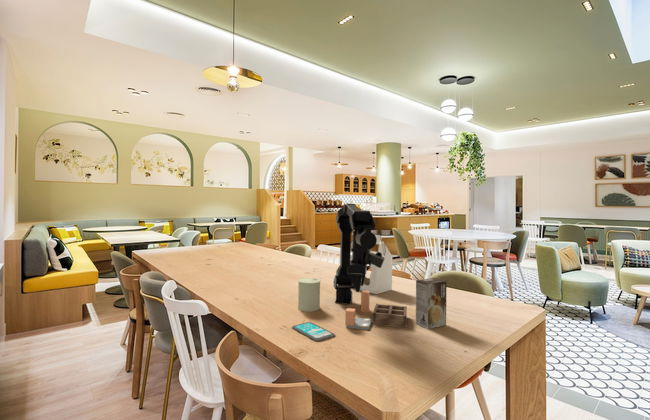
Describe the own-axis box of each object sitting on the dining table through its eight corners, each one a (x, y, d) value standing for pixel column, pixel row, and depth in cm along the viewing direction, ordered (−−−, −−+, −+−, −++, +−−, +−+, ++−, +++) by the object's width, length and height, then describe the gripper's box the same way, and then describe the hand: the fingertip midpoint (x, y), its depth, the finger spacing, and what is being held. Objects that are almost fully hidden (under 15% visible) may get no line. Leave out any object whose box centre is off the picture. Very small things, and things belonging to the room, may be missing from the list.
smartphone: (316, 340, 102) (290, 326, 114) (316, 343, 102) (290, 328, 114) (337, 334, 108) (310, 321, 119) (337, 337, 108) (310, 323, 119)
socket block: (372, 324, 119) (372, 313, 119) (375, 313, 130) (376, 303, 130) (406, 327, 116) (406, 316, 116) (406, 316, 127) (406, 306, 127)
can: (324, 308, 136) (325, 279, 136) (308, 313, 130) (309, 283, 130) (309, 303, 143) (309, 275, 143) (293, 307, 136) (293, 279, 136)
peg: (360, 311, 132) (361, 292, 132) (362, 309, 135) (362, 290, 135) (368, 312, 132) (368, 292, 131) (369, 310, 134) (369, 290, 134)
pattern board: (345, 327, 115) (345, 310, 115) (349, 319, 123) (349, 303, 123) (368, 330, 113) (369, 313, 113) (371, 322, 121) (371, 305, 121)
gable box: (392, 290, 168) (393, 235, 167) (376, 294, 158) (377, 236, 158) (359, 282, 184) (360, 232, 183) (343, 285, 175) (343, 233, 174)
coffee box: (433, 319, 124) (434, 277, 124) (446, 325, 119) (447, 281, 118) (414, 323, 120) (415, 279, 120) (427, 329, 114) (428, 283, 114)
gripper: (380, 249, 106) (380, 297, 107) (385, 243, 124) (384, 284, 125) (347, 248, 109) (346, 294, 109) (356, 242, 127) (355, 282, 128)
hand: (359, 288), depth 118 cm, fingers open, 9 cm apart
